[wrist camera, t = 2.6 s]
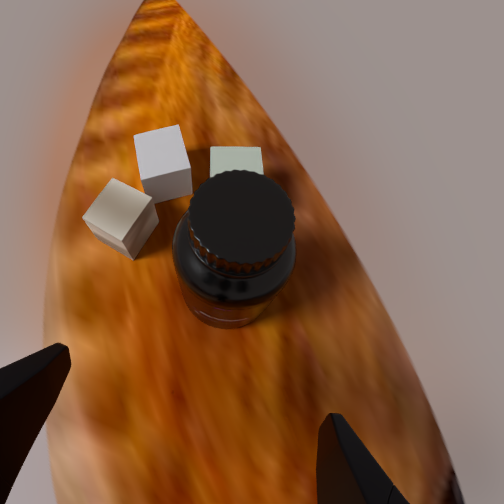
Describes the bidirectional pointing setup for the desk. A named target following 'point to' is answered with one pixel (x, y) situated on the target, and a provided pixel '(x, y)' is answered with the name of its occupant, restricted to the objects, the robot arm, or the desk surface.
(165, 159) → the grey plastic block
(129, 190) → the birch block
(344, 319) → the desk surface
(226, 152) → the sage block
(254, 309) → the supplement bottle
